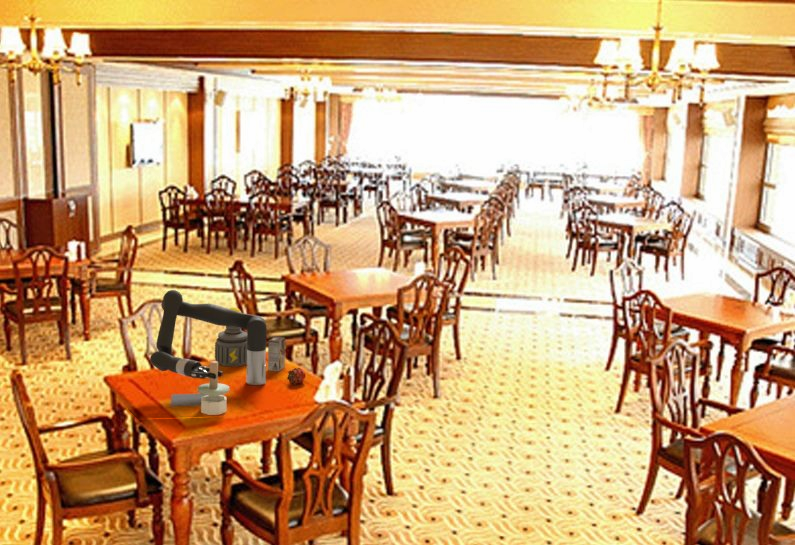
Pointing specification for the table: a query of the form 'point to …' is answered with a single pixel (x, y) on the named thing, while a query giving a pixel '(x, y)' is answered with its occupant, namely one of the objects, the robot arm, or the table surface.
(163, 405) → the table surface
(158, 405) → the table surface
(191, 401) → the mat
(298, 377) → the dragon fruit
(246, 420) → the table surface
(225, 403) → the bowl
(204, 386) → the lid
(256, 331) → the robot arm
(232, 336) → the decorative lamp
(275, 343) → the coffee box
